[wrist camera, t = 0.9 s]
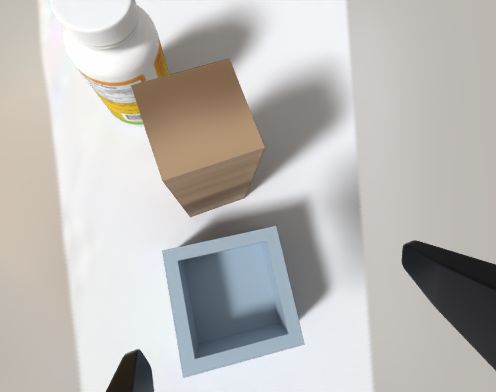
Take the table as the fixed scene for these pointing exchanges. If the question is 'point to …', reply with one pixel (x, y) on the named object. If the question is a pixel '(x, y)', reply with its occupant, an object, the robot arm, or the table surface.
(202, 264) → the bin
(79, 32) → the supplement bottle
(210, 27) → the table surface
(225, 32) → the table surface
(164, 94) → the walnut block
